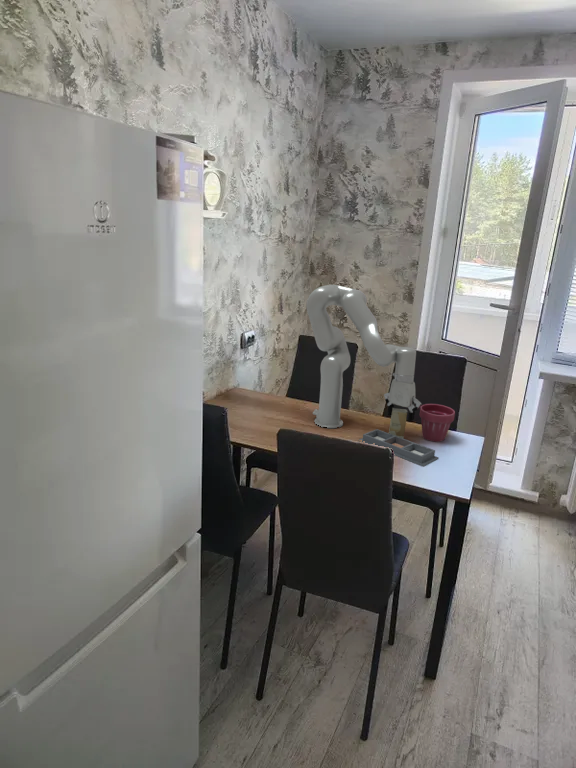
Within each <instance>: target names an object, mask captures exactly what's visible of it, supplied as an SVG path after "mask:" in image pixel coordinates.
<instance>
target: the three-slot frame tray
mask: <svg viewBox="0 0 576 768" xmlns="http://www.w3.org/2000/svg"><path fill="white" fill-rule="evenodd" d="M359 440H362V442H363V441H365V443H368V444H373V443H375V445H378V446H384V447H389V448H392V449H393V451H394V454H395V455H394V456H395V457H398V458H400V459H403V460H406V461H408V462H411V463H412V464H416V465H418V466H420V467H425V466H428V465H429V464H431V463H433V462H435V461H437V460H439V457H438V456H436V455H435V454H436V450H435V449H432V448H429V447H427V446H425V445H421V444H419V443H416V442H414V441H411V440H408V439H405V438H404V439H403V438H400V437H397V436H395V435H392V434H389V432H385V431H383V430H380V429H378V428H376V429H373V430H370V431H368V432H366V433H363V434H362V438H359V439H358V441H359ZM362 442H361V443H362ZM365 443H364V444H365Z"/></svg>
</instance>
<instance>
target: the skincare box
mask: <svg viewBox="0 0 576 768" xmlns="http://www.w3.org/2000/svg"><path fill="white" fill-rule="evenodd" d="M390 416H391V417H390V423H389V429H388V433H389V434H392V435H395V436H397V437H400V438H403V439H405V438H404V437H405V431H406V424H407V420H408V409H404V408H395V407H394V408H392V415H390Z"/></svg>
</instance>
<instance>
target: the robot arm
mask: <svg viewBox="0 0 576 768" xmlns="http://www.w3.org/2000/svg"><path fill="white" fill-rule="evenodd" d="M367 299H368V298H367V297H366V294H365V293H364V292H363V291H362V290H360V289H354V288H350V287H345V286H342V285H337V284H327V285H322V286H319V287H317V288H315V289H314V290H312V292H311V293H310V294H309V296H308V298H307V299H306V306H305V307H306V312H307V315H308V316H307V317H308V319H309V323H310V325H311V330H312V333H313V336H314V340H315V343H316V346H317V348H318V349H319V350H320V351H322V352H327V355H325V356H324V357H323V359H322V360H321V363H320V368H319V369H320V389H319V390H320V391H319V402H318V403H319V404H318V409H317V408H314V411H312V415H313V416H316V418H315V419H314V422H315V423H314V424H315V425H316V424H317V425H316V426H318V425H319V426H318V427H320V426H321V428H323V427H327V428H326V429H338V428H337V427H339V428H341V427H342V426H344V422H343V421H344V420H342V419H341V412H342V401H343V400H342V399H343V398H342V397H343V387H344V383H343V382H344V380H343V375H344V371H346V370H347V369H348V368H349V367H350V366H351V365H350V364H351V354H350V351H349V348H348V345H347V344H348V343H347V341H346V338H345V337H346V336H345V335H344V333H343V331H342V330H341V329H340V328H339V327H337V326H334V325H333V323H332V321H331V317H330V315H329V312H328V309H327V308H328V307H331V306H333V305H334V306H338V307H342V309H343V311H344V312H345V313H346V315H347V316H348V318H349V319H350V321H351V322H352V324H353V325H354V326H355V329H356V330H357V331H358V333H359V336H360V339H361V341H362V344H363V346H364V348H365V349H366V352H367V353H368V354H369V356H370V357H371V359H372V360H373V362H375V363H376V364H377V365H378V367H379V366H380V367H383V368H384V367H388V366H390V365H391V364H392V363H395V371H394V372H393V373H392V376H393V377H394V378H393V379H392V381H391V383H390V388H389V392H387V393H384V394H383V396H384V399H385V402H386V405H387V415H388V416H391V415H392V408H395V406H398V407H403V408H408V409H407V410H409V412H408V414H407V421H408V422H409V423H410V422H413V421H414V420H415V415H416V414H415V413H416V411H419V410H420V407H421V406H422V405H423V403H422V402H421V401H420V400H419V399H417V398H416V383H415V381H414V378H415V370H416V358H417V351H416V349H415V348H413V347H410V346H404V347H403V346H398V345H395V344H391V343H390V344H389V343H387V344H385V342H384V341H383V339H382V337H381V335H380V334H379V329H378V321H377V318H376V317H375V315H374V314H373V313H372V311H371V310H370V308H369V306H368V305H367Z"/></svg>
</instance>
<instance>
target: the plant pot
mask: <svg viewBox="0 0 576 768" xmlns="http://www.w3.org/2000/svg"><path fill="white" fill-rule="evenodd" d="M455 416H456V411H455V409H453V408H451V407H450V406H446V405H443V404H438V403H425V404H422V405H421V406H420V407H419V417H420V418H421V419H420V420H421V421H420V422H421V423H420V424H421V433H422V438H424V440H427V441H431V442H435V443H436V442H437V443H438V442H444V441H445V439H446V437H447V434H448V432H449V430H450V428H451V424H452V423H453V422H454V420H455Z"/></svg>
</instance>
